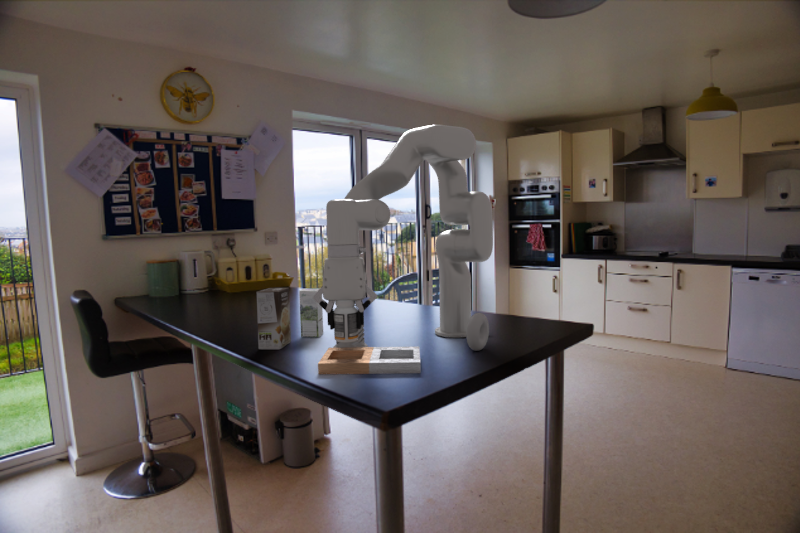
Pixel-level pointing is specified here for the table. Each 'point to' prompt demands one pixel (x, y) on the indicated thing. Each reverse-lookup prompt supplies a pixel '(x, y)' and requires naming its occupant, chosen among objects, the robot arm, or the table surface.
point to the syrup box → (310, 313)
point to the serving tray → (370, 360)
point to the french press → (355, 343)
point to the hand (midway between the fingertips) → (346, 327)
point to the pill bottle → (345, 321)
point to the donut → (477, 331)
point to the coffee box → (273, 318)
